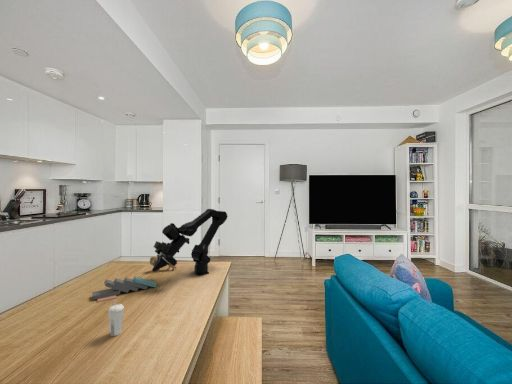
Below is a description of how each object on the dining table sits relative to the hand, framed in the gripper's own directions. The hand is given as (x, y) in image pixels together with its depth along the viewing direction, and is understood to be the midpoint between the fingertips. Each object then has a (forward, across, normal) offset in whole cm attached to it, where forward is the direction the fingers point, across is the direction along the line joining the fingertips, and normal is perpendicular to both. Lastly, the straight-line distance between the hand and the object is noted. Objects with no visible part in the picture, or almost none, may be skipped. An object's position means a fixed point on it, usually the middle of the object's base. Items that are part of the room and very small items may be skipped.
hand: (152, 270), depth 121 cm
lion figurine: (-2, -20, +13) cm, 24 cm away
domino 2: (+12, 0, -3) cm, 13 cm away
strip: (+19, 0, -9) cm, 21 cm away
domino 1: (+15, 0, -6) cm, 16 cm away
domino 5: (+4, 0, +5) cm, 7 cm away
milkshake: (+20, +34, -9) cm, 40 cm away
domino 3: (+10, 0, 0) cm, 10 cm away
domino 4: (+7, 0, +3) cm, 7 cm away
